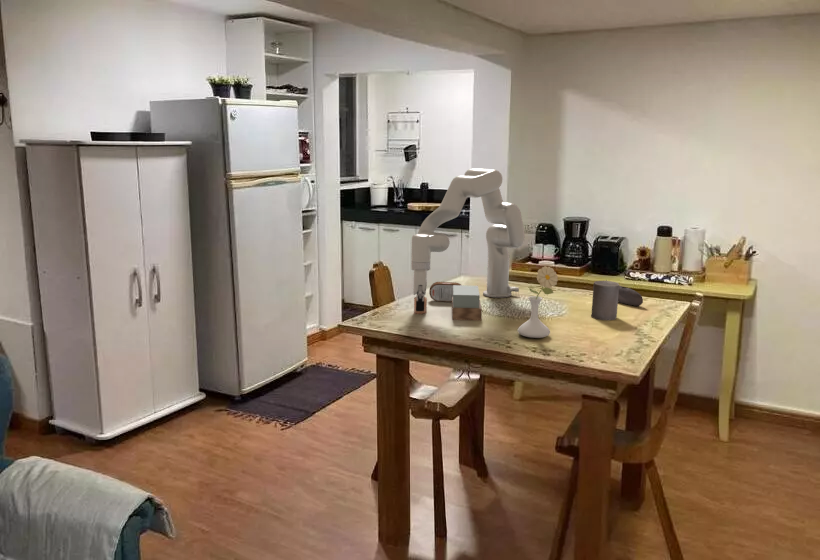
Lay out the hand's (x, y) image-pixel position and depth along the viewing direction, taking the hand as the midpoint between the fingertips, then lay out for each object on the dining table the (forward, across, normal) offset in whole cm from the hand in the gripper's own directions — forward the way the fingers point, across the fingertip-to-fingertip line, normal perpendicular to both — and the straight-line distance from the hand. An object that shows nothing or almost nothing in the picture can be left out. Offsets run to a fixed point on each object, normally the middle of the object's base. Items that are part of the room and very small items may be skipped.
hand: (420, 308), depth 265 cm
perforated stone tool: (+2, -20, +88) cm, 90 cm away
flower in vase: (+2, +31, +41) cm, 51 cm away
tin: (+2, -20, +11) cm, 23 cm away
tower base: (+2, +1, +18) cm, 18 cm away
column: (+2, 0, 0) cm, 2 cm away
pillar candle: (+2, +3, +72) cm, 72 cm away
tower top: (-3, +1, +18) cm, 18 cm away
